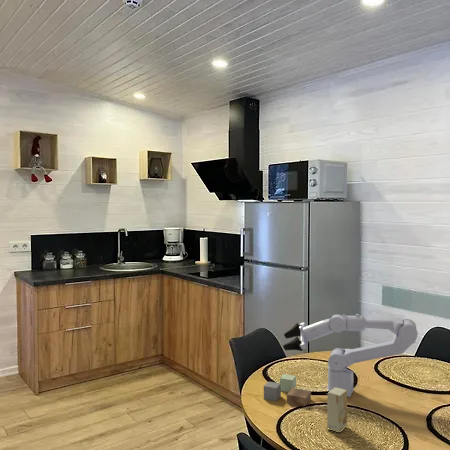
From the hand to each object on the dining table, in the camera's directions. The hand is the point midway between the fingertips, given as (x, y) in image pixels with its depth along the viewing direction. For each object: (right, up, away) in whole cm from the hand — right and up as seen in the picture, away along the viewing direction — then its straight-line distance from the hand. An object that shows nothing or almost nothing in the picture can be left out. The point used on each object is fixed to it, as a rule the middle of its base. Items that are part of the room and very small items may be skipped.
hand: (284, 342), depth 183 cm
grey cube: (-6, -18, -12) cm, 22 cm away
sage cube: (+1, -18, -4) cm, 18 cm away
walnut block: (+3, -18, -15) cm, 24 cm away
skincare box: (+12, -19, -36) cm, 42 cm away
